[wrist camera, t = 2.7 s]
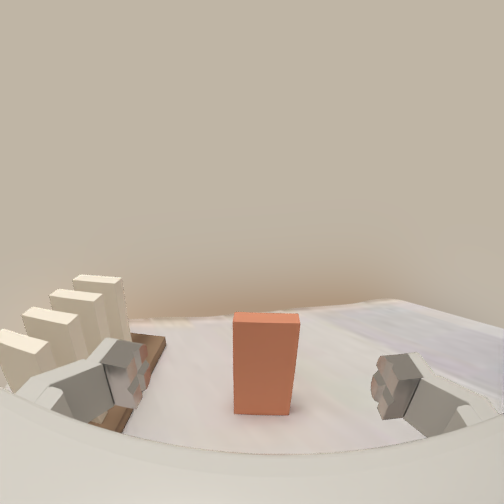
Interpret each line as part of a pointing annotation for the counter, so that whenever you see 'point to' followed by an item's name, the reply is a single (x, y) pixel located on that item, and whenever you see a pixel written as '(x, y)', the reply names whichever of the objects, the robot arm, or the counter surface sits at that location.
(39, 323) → the ivory tile
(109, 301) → the ivory tile
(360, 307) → the counter surface
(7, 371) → the ivory tile
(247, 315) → the rust tile
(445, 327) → the counter surface
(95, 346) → the ivory tile
